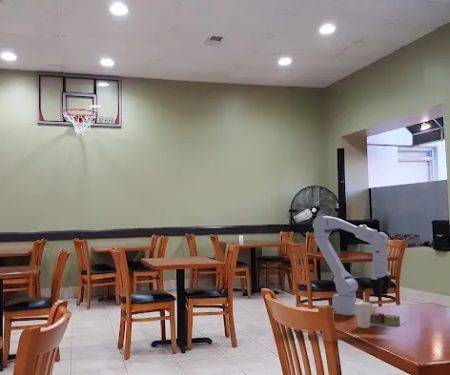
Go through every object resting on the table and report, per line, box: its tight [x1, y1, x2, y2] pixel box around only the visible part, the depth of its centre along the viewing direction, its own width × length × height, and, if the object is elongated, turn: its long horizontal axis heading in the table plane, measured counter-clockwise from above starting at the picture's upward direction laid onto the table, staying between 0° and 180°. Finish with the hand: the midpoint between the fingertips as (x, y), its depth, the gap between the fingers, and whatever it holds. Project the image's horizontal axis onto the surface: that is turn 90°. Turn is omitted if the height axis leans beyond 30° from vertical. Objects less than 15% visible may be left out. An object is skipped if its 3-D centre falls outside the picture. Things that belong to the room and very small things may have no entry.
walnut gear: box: [370, 312, 385, 324], centre depth 185 cm, size 5×5×3 cm
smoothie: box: [354, 291, 373, 329], centre depth 178 cm, size 6×6×14 cm
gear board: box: [370, 312, 410, 329], centre depth 186 cm, size 12×18×5 cm, turn 142°
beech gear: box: [384, 314, 401, 326], centre depth 182 cm, size 5×5×3 cm
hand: (380, 295), depth 195 cm, fingers open, 7 cm apart
